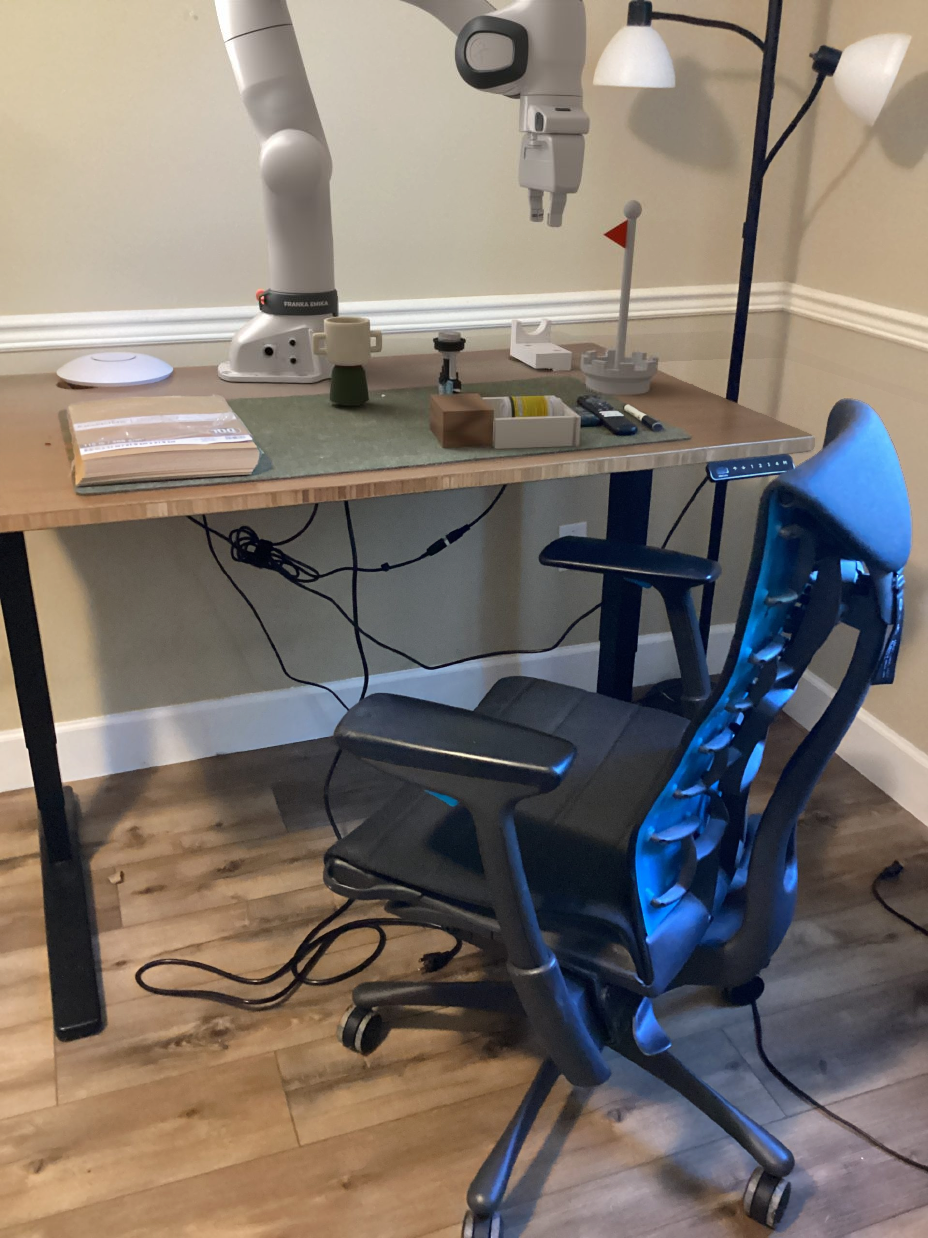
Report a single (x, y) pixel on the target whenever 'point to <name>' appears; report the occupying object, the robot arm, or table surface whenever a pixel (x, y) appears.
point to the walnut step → (461, 420)
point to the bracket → (538, 347)
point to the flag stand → (621, 329)
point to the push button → (449, 360)
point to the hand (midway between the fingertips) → (545, 224)
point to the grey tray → (534, 429)
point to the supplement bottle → (530, 406)
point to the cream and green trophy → (347, 356)
